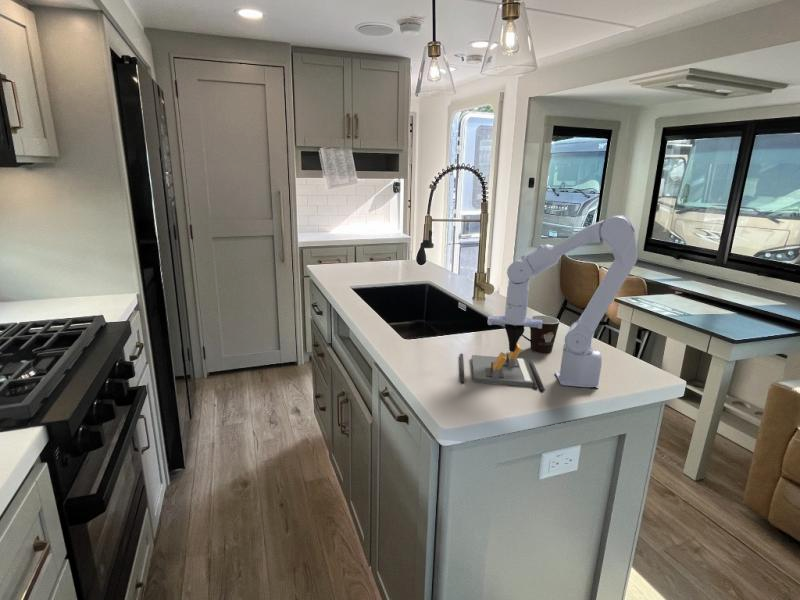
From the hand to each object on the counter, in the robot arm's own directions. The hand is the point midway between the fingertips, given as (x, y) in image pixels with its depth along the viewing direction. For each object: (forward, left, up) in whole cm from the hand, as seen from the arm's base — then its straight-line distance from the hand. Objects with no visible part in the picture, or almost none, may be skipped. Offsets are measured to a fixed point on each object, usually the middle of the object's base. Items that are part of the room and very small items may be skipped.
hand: (511, 350), depth 129 cm
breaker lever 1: (+5, +8, -2) cm, 10 cm away
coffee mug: (-10, -16, -5) cm, 20 cm away
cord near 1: (-7, +5, -5) cm, 10 cm away
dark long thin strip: (-5, +5, -5) cm, 9 cm away
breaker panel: (+3, +4, -5) cm, 7 cm away
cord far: (+13, +4, -5) cm, 15 cm away
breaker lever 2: (0, 0, -2) cm, 2 cm away
